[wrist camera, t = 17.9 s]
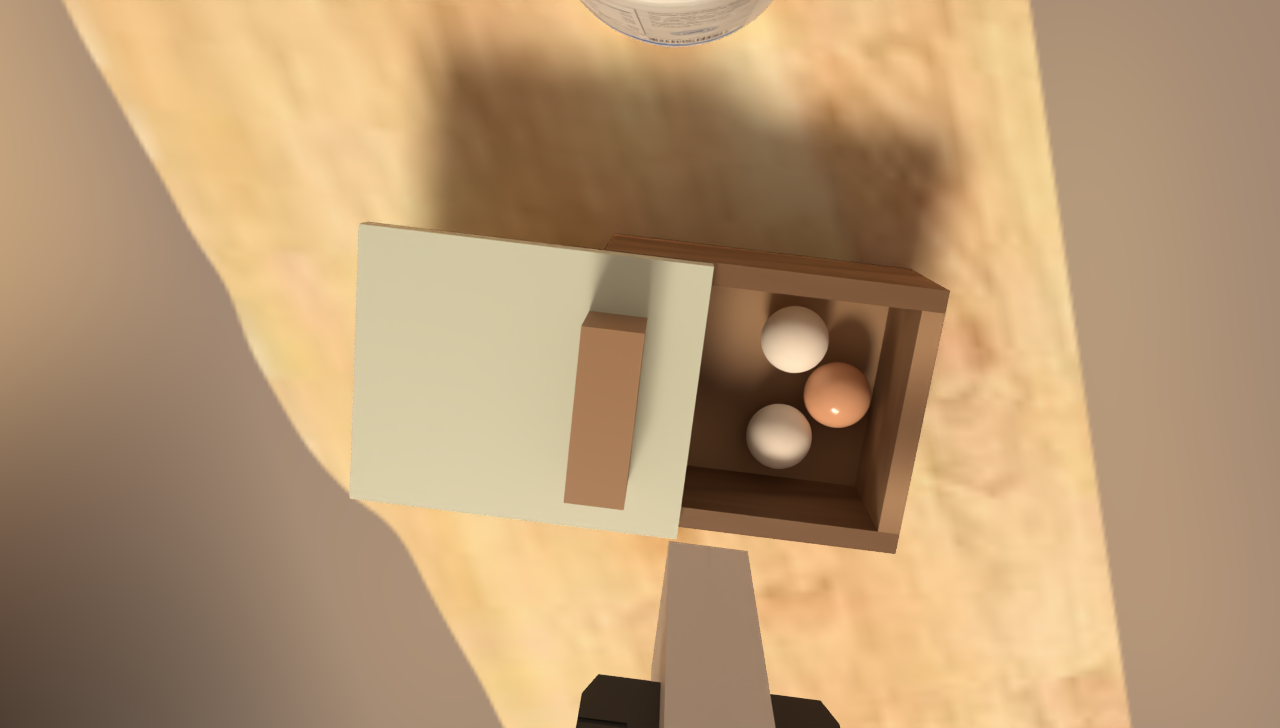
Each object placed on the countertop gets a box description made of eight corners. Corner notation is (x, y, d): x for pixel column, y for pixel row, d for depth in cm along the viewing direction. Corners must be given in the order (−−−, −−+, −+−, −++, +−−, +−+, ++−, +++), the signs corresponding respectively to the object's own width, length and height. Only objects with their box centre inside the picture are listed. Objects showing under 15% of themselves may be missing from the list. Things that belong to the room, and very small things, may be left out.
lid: (367, 221, 30) (329, 231, 27) (713, 263, 30) (717, 278, 27) (357, 490, 33) (322, 528, 29) (676, 530, 32) (676, 572, 29)
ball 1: (763, 296, 35) (769, 308, 32) (828, 304, 35) (839, 317, 32) (753, 359, 36) (759, 376, 33) (817, 367, 36) (827, 384, 33)
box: (615, 233, 35) (604, 249, 30) (911, 269, 35) (949, 291, 30) (590, 464, 38) (576, 513, 33) (866, 498, 38) (895, 553, 33)
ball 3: (805, 351, 35) (814, 367, 33) (869, 359, 35) (883, 375, 33) (794, 412, 36) (803, 432, 34) (857, 419, 36) (871, 440, 33)
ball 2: (748, 392, 36) (753, 411, 33) (811, 400, 36) (821, 419, 33) (739, 451, 37) (744, 474, 34) (801, 458, 37) (810, 482, 34)
